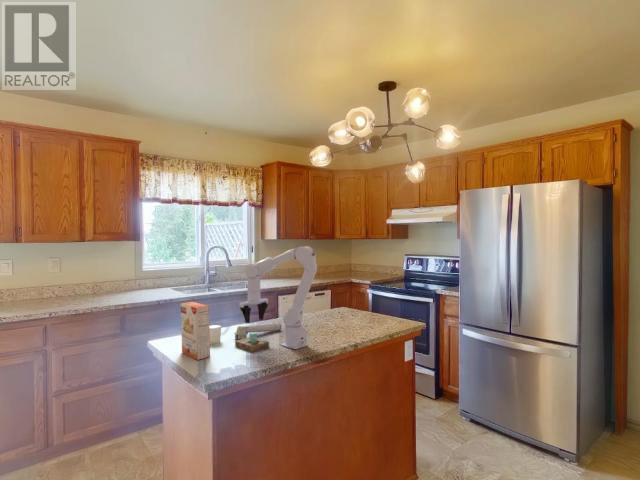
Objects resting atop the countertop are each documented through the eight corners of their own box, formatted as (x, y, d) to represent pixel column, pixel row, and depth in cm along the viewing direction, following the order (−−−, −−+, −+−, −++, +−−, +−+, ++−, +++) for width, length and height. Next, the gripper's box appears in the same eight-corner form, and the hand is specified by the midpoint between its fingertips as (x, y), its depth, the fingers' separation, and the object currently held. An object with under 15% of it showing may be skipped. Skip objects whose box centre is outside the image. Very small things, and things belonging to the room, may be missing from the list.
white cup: (223, 339, 173) (222, 324, 173) (219, 343, 166) (219, 328, 166) (208, 339, 173) (208, 324, 173) (204, 343, 166) (204, 328, 166)
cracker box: (180, 353, 153) (180, 303, 153) (194, 349, 158) (193, 301, 157) (196, 361, 144) (195, 307, 143) (210, 357, 148) (209, 305, 147)
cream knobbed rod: (282, 323, 187) (239, 325, 170) (281, 336, 187) (237, 339, 170) (276, 321, 191) (233, 323, 174) (275, 334, 191) (231, 337, 174)
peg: (258, 347, 160) (258, 333, 160) (252, 348, 158) (252, 335, 158) (254, 345, 162) (253, 332, 162) (248, 347, 160) (247, 333, 160)
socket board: (268, 347, 160) (268, 341, 160) (252, 352, 153) (251, 346, 153) (252, 341, 168) (251, 336, 168) (235, 346, 162) (235, 341, 162)
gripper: (261, 288, 175) (261, 316, 175) (235, 292, 164) (235, 322, 164) (270, 289, 170) (271, 319, 170) (244, 293, 159) (245, 325, 159)
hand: (254, 321), depth 167 cm, fingers open, 7 cm apart
